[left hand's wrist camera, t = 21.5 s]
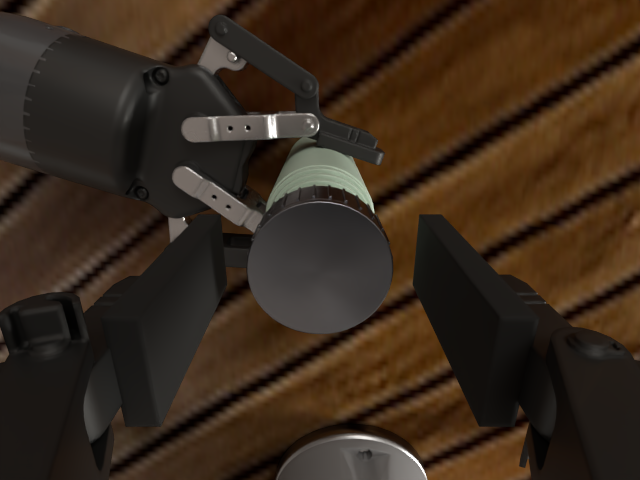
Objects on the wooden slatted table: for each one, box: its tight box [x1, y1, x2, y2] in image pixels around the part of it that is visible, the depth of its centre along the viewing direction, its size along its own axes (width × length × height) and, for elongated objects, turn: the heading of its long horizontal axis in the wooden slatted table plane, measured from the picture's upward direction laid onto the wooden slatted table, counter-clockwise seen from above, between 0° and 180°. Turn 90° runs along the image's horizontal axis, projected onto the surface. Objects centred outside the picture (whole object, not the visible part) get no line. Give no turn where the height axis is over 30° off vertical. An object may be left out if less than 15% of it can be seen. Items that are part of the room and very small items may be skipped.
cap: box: [247, 184, 393, 334], centre depth 13 cm, size 5×5×2 cm
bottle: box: [266, 137, 374, 213], centre depth 21 cm, size 5×5×17 cm
